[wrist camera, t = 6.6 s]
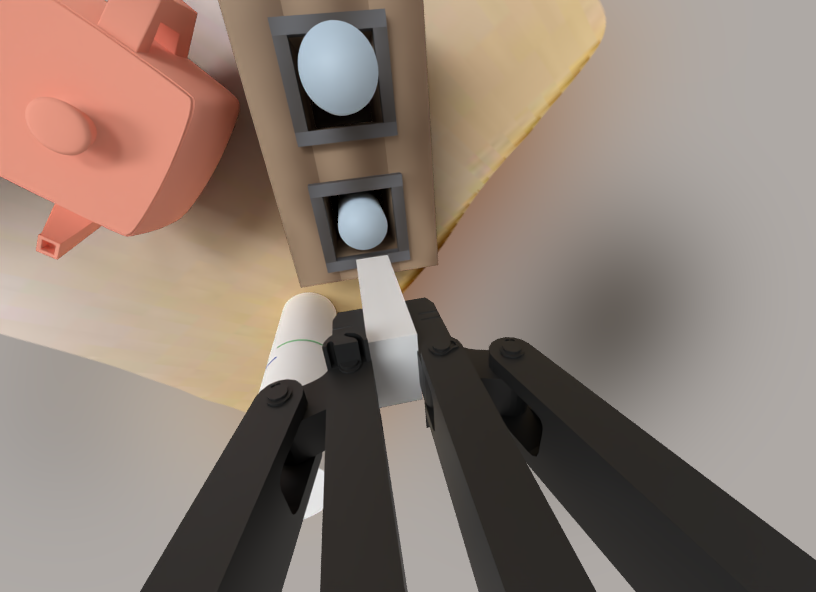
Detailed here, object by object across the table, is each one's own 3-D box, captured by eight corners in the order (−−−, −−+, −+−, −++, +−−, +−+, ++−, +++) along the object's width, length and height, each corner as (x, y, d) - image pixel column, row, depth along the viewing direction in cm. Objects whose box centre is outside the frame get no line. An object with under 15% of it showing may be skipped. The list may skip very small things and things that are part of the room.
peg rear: (342, 225, 38) (343, 253, 31) (334, 186, 36) (333, 205, 28) (379, 220, 39) (390, 246, 31) (374, 181, 37) (384, 198, 29)
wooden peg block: (308, 252, 41) (299, 292, 32) (251, 30, 31) (211, -10, 21) (418, 235, 43) (440, 268, 33) (399, 18, 32) (425, -24, 23)
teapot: (180, 249, 38) (107, 311, 26) (47, 181, 33) (-124, 219, 21) (275, 73, 32) (236, 46, 20) (130, -44, 27) (-42, -177, 15)
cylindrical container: (271, 319, 45) (208, 508, 23) (303, 282, 43) (268, 448, 21) (315, 345, 48) (296, 532, 26) (347, 311, 46) (354, 481, 25)
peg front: (317, 118, 27) (308, 119, 19) (304, 53, 25) (288, 23, 17) (370, 112, 28) (383, 110, 20) (362, 47, 25) (372, 16, 18)
